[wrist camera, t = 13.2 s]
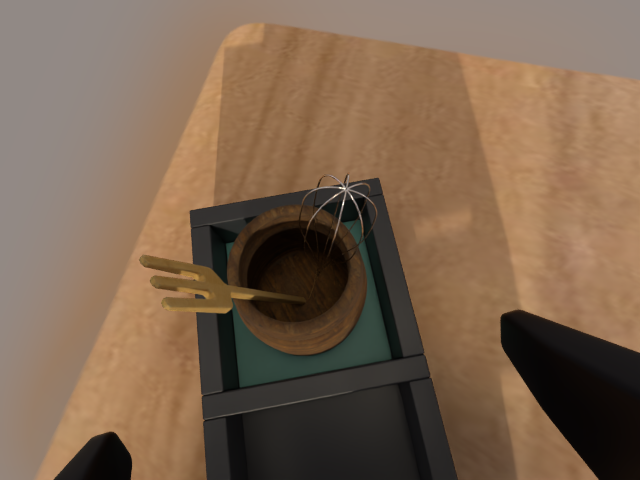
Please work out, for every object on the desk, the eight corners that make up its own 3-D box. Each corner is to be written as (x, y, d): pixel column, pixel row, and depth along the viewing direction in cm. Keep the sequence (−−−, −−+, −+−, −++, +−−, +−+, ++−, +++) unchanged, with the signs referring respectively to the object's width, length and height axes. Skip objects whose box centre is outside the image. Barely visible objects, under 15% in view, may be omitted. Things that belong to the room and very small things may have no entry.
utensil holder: (384, 314, 20) (449, 237, 9) (283, 384, 19) (209, 400, 8) (322, 229, 22) (310, 72, 10) (227, 289, 21) (101, 187, 9)
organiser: (467, 589, 17) (501, 644, 13) (244, 635, 16) (220, 703, 13) (372, 205, 23) (378, 177, 20) (210, 234, 23) (189, 210, 19)
